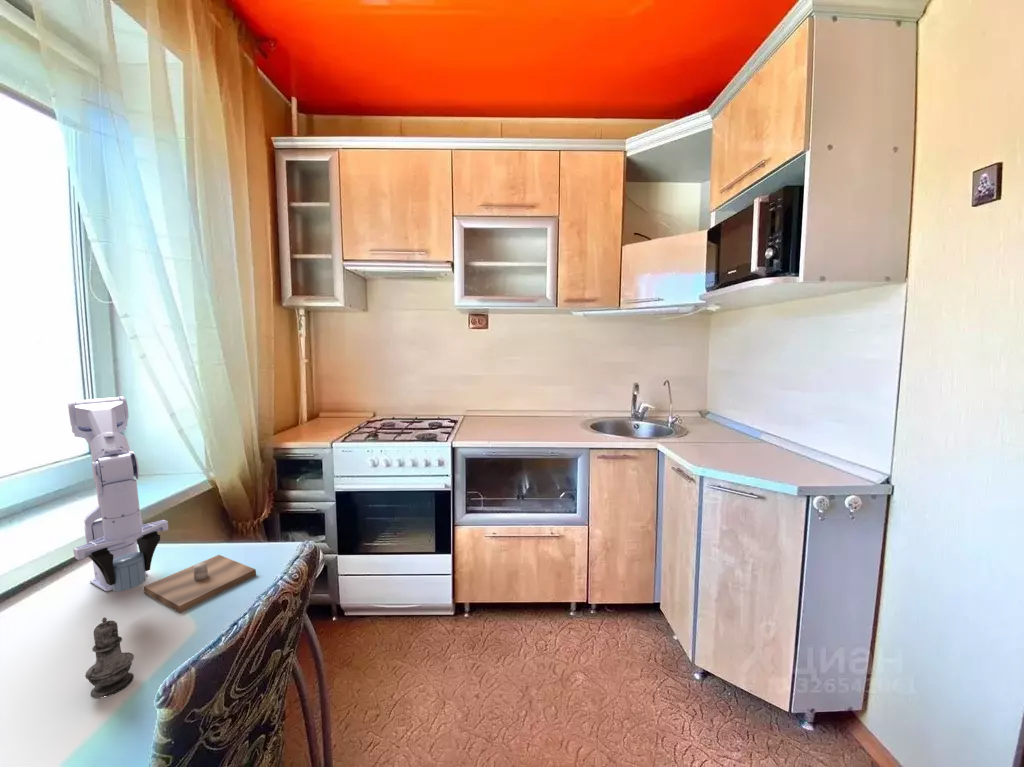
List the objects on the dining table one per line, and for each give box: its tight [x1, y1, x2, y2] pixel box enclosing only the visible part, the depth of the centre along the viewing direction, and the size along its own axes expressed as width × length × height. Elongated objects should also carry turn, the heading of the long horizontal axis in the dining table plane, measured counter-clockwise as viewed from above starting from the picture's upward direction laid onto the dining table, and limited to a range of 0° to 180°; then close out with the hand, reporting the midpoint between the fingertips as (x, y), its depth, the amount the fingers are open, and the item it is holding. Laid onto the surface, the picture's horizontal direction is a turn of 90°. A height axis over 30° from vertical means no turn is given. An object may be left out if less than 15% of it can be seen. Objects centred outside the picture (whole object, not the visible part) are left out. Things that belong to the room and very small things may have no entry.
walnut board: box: [143, 554, 257, 613], centre depth 100 cm, size 16×16×4 cm
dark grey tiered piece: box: [84, 617, 135, 699], centre depth 70 cm, size 6×6×12 cm
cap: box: [111, 551, 148, 592], centre depth 88 cm, size 5×5×6 cm
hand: (128, 576), depth 88 cm, fingers closed on cap, 5 cm apart
